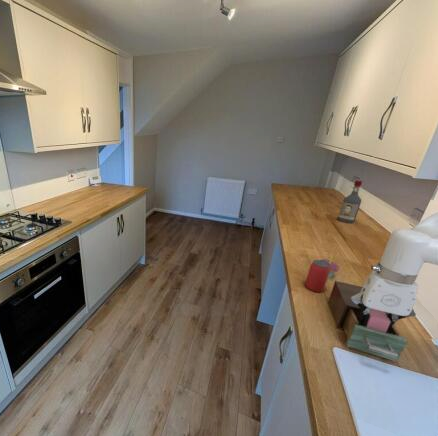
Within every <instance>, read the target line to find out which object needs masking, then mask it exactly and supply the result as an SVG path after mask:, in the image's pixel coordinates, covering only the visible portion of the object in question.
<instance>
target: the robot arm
mask: <svg viewBox="0 0 438 436" xmlns="http://www.w3.org/2000/svg"><path fill="white" fill-rule="evenodd" d="M425 263H427V264H432V265H436V266H438V212H437V211H436V212H434V213H433V214H431V215H429V216H427V217H426V218H424V219H423V220H421V221H420V222H418V223H416V224H415V225H414V226H413V227H412V228H409V229H407V228H400V229H399V228H398V229H394V230H393V231H392V232H391V234H390V236H389V238H388V241H387V243H386V246H385V248H384V250H383V254H382V256H381V258H380V260H379V262H378V263H377V264H376V265H371V266H370V270H371V271H372V272H371V273H370V274H369V276H368V278H367V279H366V280H365V282H364V284H363V286H362V287H363V288H362V290H361V292H360V293H358V294H356V295H354V296H352V297H351V300H352V301H353V302H354V303H355V304H356V305H358V307H359V308H360V309H361V313H360V315H359V320H360V321H361V323H362V325H364V326H365V325H366V324H367V321H368V319H369V317H370V316H369V313H370V311H371V310H372V309H375V310H379V311H383V312H387V313H388V314H386V315H387V316H388V318H389V320H390V321H391V322H390V325H389V327H388V329H387V331H386V332H388V331H389V329H390V328H392V325H393V323H394V322H395V323H396V322H398V321H400V320H402V319H405V318H410V317H416V316H417V314H416V312H415V309H414V306H415V302H416V301H417V294H418V289H419V284H418V282H416V280H417V278H418V276H419V273H421V272H420V271H421V269H422V267H423V265H424V264H425ZM361 299H362V302H363V303H362V302H361V301H359V300H361Z"/></svg>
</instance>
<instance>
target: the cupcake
mask: <svg viewBox="0 0 438 436" xmlns="http://www.w3.org/2000/svg"><path fill="white" fill-rule="evenodd" d="M334 257H335V253H333V254H332V255H331V257H330V259H326V258H325V259H321V260H322V261H325V262H327V263H328V264H329V265H330V272H329V275H328V278H327V279H329V278H332V277H333V275H334V274H336V273H339V271H340V267H339V265H338V264H337V263H335V262H334V261H333V259H334Z"/></svg>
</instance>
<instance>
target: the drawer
mask: <svg viewBox="0 0 438 436" xmlns="http://www.w3.org/2000/svg"><path fill="white" fill-rule="evenodd" d="M360 313H361V311H360V310H356V309H352V308H348V309H347V311H346V314H345V316H344V319H343V322H342V325H343V328H344V333H345V336H346V338H347V339H346V342H345V344H346V347H348V348H352V349H354V350H357V351H361V352H364V353H368V354H371V355H374V356H377V357H381V358H384V359H387V360H390V361H393V362H398V360H399V358H400V357H401V355H402V353H403V352H404V349H405V347H406V345H407V344H408V339H407V338H406V337H404V336H401V334H400V332H399V331H398V329H397V327H396V326H395V324H393V325H392V328H390V329H389V331H388V332H382V331H379V330H375V329H371V328H368V327H365V326H364V325H362V323H361V321H360V320H359V315H360Z"/></svg>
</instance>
